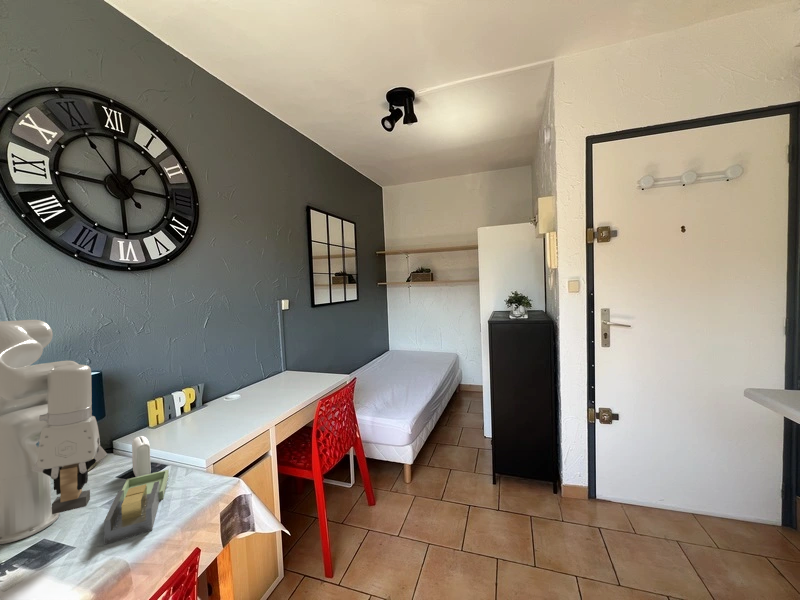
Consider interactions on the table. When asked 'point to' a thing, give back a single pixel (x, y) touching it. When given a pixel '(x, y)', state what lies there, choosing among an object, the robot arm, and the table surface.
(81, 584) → the table surface
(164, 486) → the chip tray
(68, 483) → the t-shaped hammer
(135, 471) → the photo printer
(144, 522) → the channel
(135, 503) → the yellow wooden cube
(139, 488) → the yellow cube
